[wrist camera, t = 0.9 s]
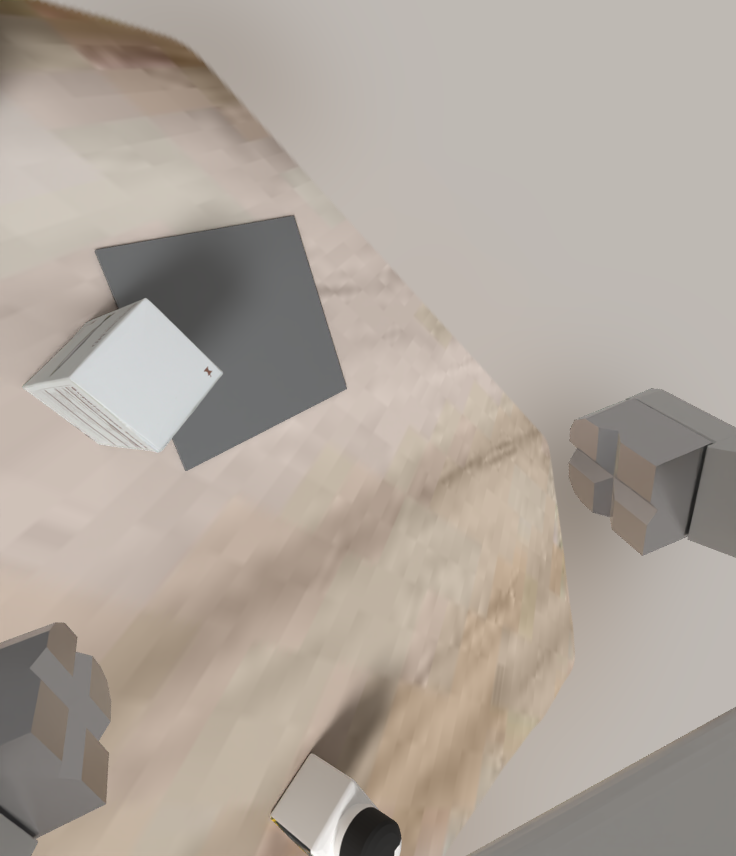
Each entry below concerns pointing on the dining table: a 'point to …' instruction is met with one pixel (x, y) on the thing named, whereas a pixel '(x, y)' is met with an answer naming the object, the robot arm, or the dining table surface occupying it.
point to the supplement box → (127, 378)
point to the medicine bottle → (334, 815)
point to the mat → (236, 324)
